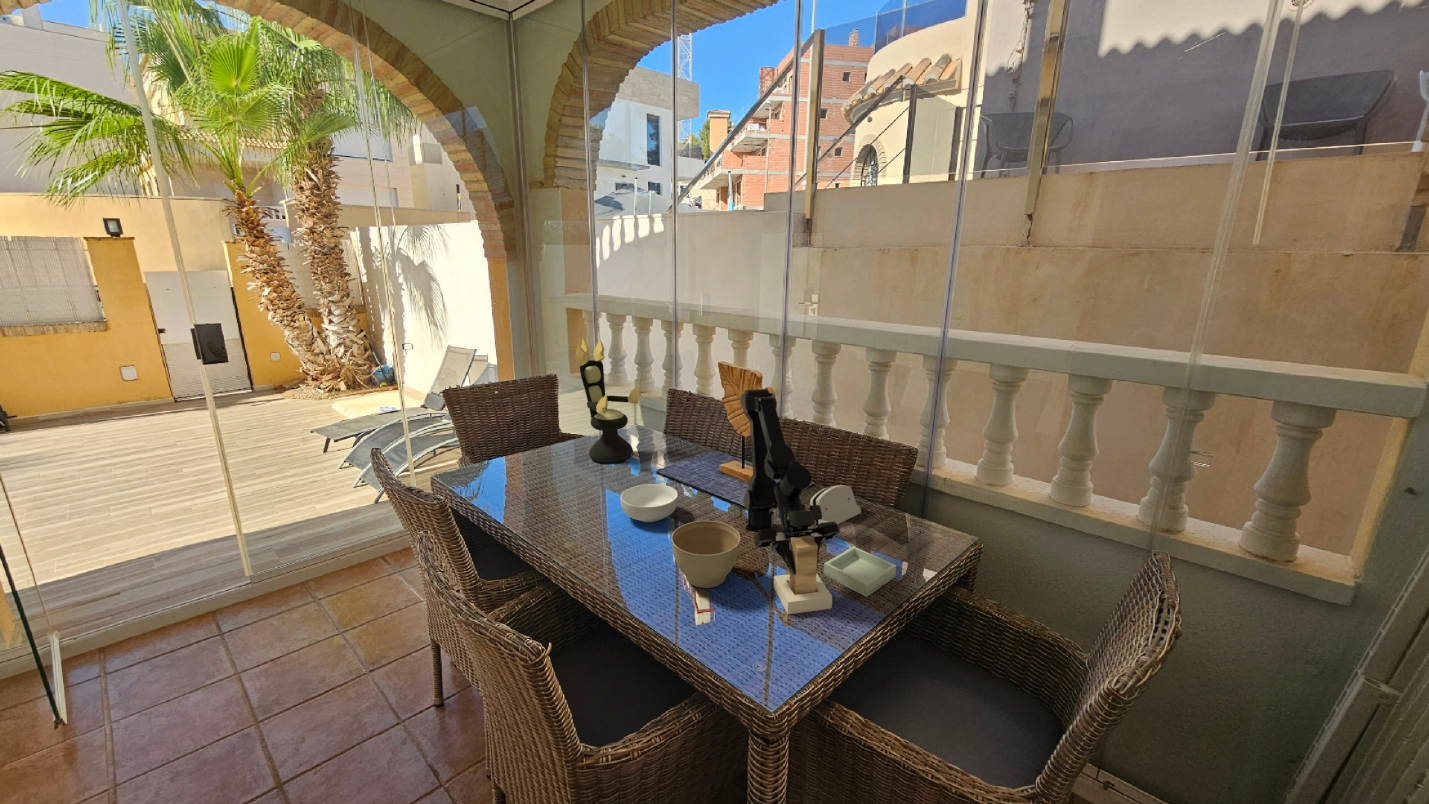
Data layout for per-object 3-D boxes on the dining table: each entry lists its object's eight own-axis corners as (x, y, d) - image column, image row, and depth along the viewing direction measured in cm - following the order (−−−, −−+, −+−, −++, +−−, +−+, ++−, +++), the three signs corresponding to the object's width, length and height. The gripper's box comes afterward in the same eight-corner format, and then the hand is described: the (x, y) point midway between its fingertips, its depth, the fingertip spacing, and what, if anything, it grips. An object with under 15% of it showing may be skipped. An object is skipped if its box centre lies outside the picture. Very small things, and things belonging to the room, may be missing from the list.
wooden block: (789, 593, 123) (790, 537, 120) (807, 590, 124) (810, 535, 121) (795, 605, 119) (797, 548, 116) (815, 602, 120) (817, 545, 116)
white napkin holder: (826, 530, 152) (818, 495, 152) (813, 529, 156) (805, 495, 156) (862, 512, 162) (854, 479, 162) (849, 512, 166) (842, 480, 166)
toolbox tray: (823, 574, 131) (824, 563, 130) (852, 556, 138) (853, 546, 137) (866, 597, 122) (867, 585, 121) (895, 576, 129) (896, 565, 129)
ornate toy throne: (610, 469, 197) (603, 346, 185) (568, 457, 209) (558, 341, 197) (644, 453, 212) (639, 339, 200) (603, 443, 224) (596, 334, 212)
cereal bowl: (690, 515, 161) (689, 493, 159) (647, 536, 149) (646, 512, 148) (652, 499, 172) (651, 478, 170) (609, 516, 161) (608, 494, 159)
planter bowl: (686, 605, 120) (685, 561, 117) (663, 568, 134) (662, 528, 131) (751, 587, 126) (752, 545, 123) (723, 554, 140) (723, 515, 137)
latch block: (773, 587, 126) (774, 576, 125) (814, 582, 127) (815, 571, 127) (787, 614, 116) (788, 602, 115) (831, 608, 118) (832, 596, 117)
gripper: (758, 496, 118) (772, 569, 110) (839, 488, 121) (858, 558, 113) (748, 513, 127) (761, 581, 119) (823, 505, 131) (840, 571, 123)
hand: (805, 573), depth 119 cm, fingers closed on wooden block, 4 cm apart
